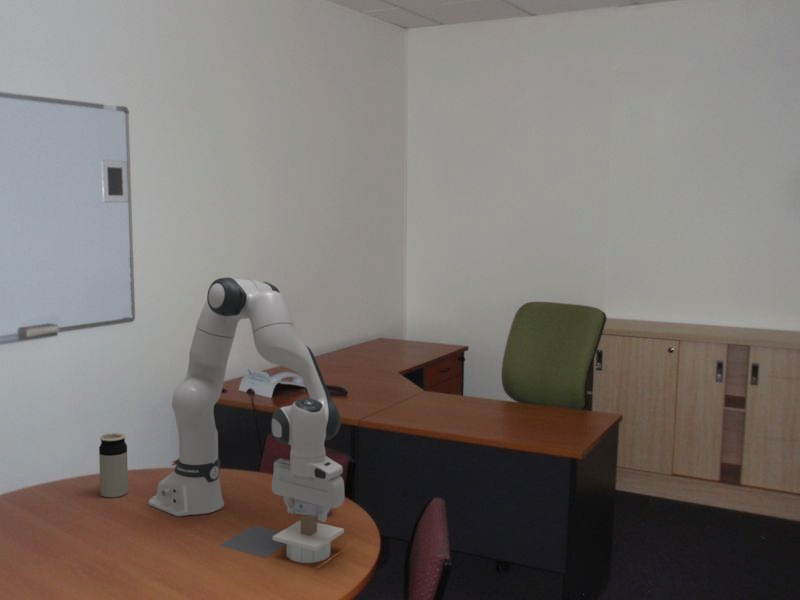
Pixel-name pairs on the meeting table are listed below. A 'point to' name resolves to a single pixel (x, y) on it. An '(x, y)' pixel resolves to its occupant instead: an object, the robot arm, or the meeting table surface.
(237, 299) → the robot arm
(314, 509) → the ink cartridge box
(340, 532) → the lid
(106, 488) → the travel mug
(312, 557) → the bowl
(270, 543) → the mat
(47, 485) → the meeting table surface
